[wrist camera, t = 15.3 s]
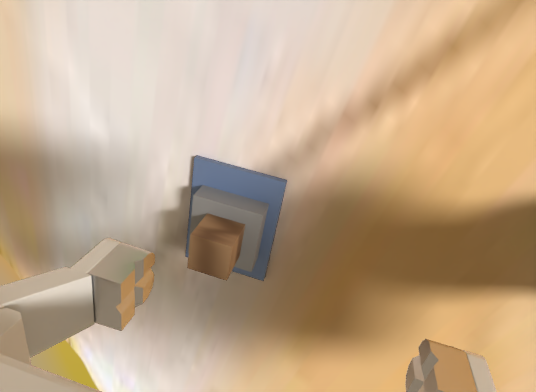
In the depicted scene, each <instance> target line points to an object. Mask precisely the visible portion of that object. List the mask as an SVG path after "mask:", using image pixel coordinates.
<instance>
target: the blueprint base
mask: <svg viewBox="0 0 536 392" xmlns="http://www.w3.org/2000/svg"><path fill="white" fill-rule="evenodd" d="M286 183H287V180H285V179H281V178H277V177H274V176H270V175H267V174H263V173H259V172H256V171H252V170H248V169H245V168H241V167H237V166H234V165H230V164H227V163H223V162H219V161H216V160H212V159H208V158H205V157H201V156H196V157H194V168H193V179H192V190H191V201H190V212H189V223H188V234H187V245H186V256H185V257H188V256H189V246H190V235H191V233H192V232H193V231H194V229H195V228H196V227H197V226H198V224H199V223H200V222H201V221H202V219H203V218H204V217H205V216H206V214H207V213H208V214H212V215H215V216H219V217H222V218H225V219H229V220H232V221H236V222H239V223H242V224H245V229H244V235H243V240H242V246H241V251H240V256H239V258H238V260H237V262H236V264H235V266H234V268H233V269H232V271H233V272H236V273H240V274H243V275H246V276H249V277H252V278H256V279H259V280H262V281H264V278H265V274H266V270H267V266H268V261H269V257H270V252H271V248H272V244H273V239H274V235H275V231H276V226H277V222H278V218H279V213H280V209H281V205H282V200H283V196H284V192H285V187H286Z"/></svg>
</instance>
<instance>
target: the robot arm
mask: <svg viewBox="0 0 536 392" xmlns="http://www.w3.org/2000/svg"><path fill="white" fill-rule="evenodd" d="M154 263H155V254H153V253H152V252H150V251H147V250H144V249H141V248H138V247H135V246H132V245H130V244H127V243H122V242H120V241H117V240H114V239H111V238H106V239H104V240H102V241H101V242H100V243H99V244H98V245H97V246H95V247H94V248H93V249H92V250H91V251H90V252H88V253H87V254H86V255H85V256H84V257H83V258H81V259H80V260H79V261H78V262H77V263H76V264H74V265H73V266H72V267H71V268H68V267H63V268H60V269H56V270H53V271H49V272H46V273H43V274H39V275H36V276H32V277H29V278H26V279H22V280H19V281H16V282H12V283H9V284H6V285H2V286H0V392H101V391H99V390H96V389H93V388H90V387H88V386H85V385H83V384H80V383H77V382H75V381H72V380H69V379H67V378H64V377H61V376H59V375H56V374H53V373H51V372H48V371H45V370H42V369H40V368H37V367H35V366H32V365H31V360H30V358H31V357H33V356H35V355H37V354H39V353H41V352H42V351H44V350H46V349H48V348H50V347H52V346H54V345H56V344H58V343H60V342H61V341H63V340H65V339H67V338H69V337H71V336H73V335H75V334H77V333H79V332H80V331H82V330H84V329H86V328H88V327H90V326H92V325H94V322H95V323H98V324H101V325H104V326H107V327H110V328H114V329H117V330H120V331H122V330H123V328H124V327H125V326H126V325H127V323H128V322H129V321H130V320H131V318H132V317H133V316H134V313H135V307H136V306H139V305H141V304H143V303H144V301H145V300H146V299H147V297H148V295H149V293H150V291H151V289H152V286H153V282H154V273H153V272H152V270H151V267H152V266H153V265H154ZM406 392H497V391H496V388H495V385H494V382H493V379H492V376H491V373H490V370H489V367H488V365H487V362H486V359H485V358H484V357H483V356H481V355H478V354H475V353H471V352H468V351H465V350H461V349H457V348H454V347H451V346H448V345H444V344H441V343H438V342H435V341H431V340H428V339H425V340H424V341H422V343H421V344H420V346H419V356H417V357H415V358H412V360H411V362H410V364H409V366H408V370H407V374H406Z"/></svg>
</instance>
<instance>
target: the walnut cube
mask: <svg viewBox="0 0 536 392" xmlns="http://www.w3.org/2000/svg"><path fill="white" fill-rule="evenodd" d="M244 229H245V224H242V223H239V222H236V221H232V220H229V219H225V218H222V217H219V216H215V215H212V214H208V213H207V214H206V216H205V217H204V218H203V219H202V221H201V222H200V223H199V224H198V226H197V227H196V228H195V229H194V231H193V232H192V233H191V235H190V246H189V256H188V267H187V268H189V269H192V270H195V271H198V272H201V273H205V274H208V275H211V276H214V277H217V278H220V279H223V280H227V279H228V277H229V275H230V273H231V271H232V269H233V268H234V266H235V264H236V262H237V260H238V258H239V256H240V251H241V246H242V240H243V235H244Z"/></svg>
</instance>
